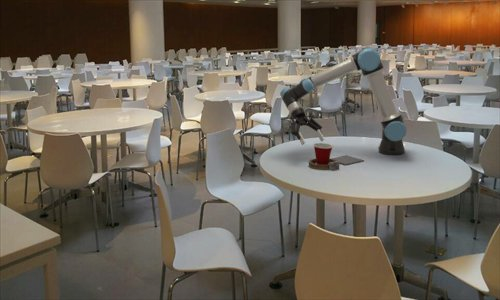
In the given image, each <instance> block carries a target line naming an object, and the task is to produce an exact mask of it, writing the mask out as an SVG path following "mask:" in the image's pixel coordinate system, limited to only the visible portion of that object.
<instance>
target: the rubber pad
mask: <svg viewBox="0 0 500 300" xmlns="http://www.w3.org/2000/svg"><path fill="white" fill-rule="evenodd" d="M330 159H334V160H337V161H338V162H339V165H343V166H350V165H354V164H359V163H363V162H365V159H362V158H358V157H354V156H351V155H347V154H345V155H341V156H336V157H331V158H330Z"/></svg>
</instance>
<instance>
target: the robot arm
mask: <svg viewBox="0 0 500 300" xmlns="http://www.w3.org/2000/svg"><path fill="white" fill-rule="evenodd" d="M383 70H384V65H383V62H382V59H381V55H380V53H379V51H378V50H376V49H375V48H373V47H364V48H362V49H361V50H359V51H358V52H356V53H354V54H352V55H350V58H348V59H346V60H342V61H341V62H340V63H337V64H335V65H332V66H330V67H328V68H326V69H324V70H321V71H320V72H317V73H316V74H315V73H314V74H313V75H311V76H309V77H307V78H303V79H302V80H300V81H299V83H298V84H297V85H295V86H294V87H293V88H291V87H289V86H288V87H285V88H283V89H282V90H281V91H280V93H279V94H280V96H281V100H282V101H283V103H284V104H285V106H286V109H287V110H288V112H289V115H290V116H291V119H290V120H289V122H290V128H291V136H293V135H294V136H295V137H296V138H297V140H298V141H299V143H300V144H301V146H304V145H305V144H306V141H305V138H304V137H303V135H302V133H301V132H300V128H301V127H302V126H306V127H309V128H311V129H312V130H313V131H316V132H315V134H316V135H317V137H318V139H319V140H320V143H323V142H324V141H325V137H324V135H323V132H322V131H321V130H322V128H323V126H322V125H320V123H318V122H317V121H316V120H315V119H314V118H313V117H312V116H311V115H309V116H306V112H305V111H304V108H303V106H302V105H301V103H300V102H299V100H301V99H302V98H303V97H305V96H307V95H308V94H309V93H311V92H312V91H314V90H315V89H316V88H319V87H321V86H324V85H325V84H328V83H330V82H332V81H335V80H337V79H339V78H341V77H343V76H346V75H348V74H350V73H352V72H355V71H357V72H358V71H361V73H362V76H363V77H365V78H366V79H367V82H368V83H369V86H370V90H371V93H372V94H373V97H374V100H375V103H376V106H377V108H378V111H379V113H380V116H381V119H380V123H381V124H380V125H381V126H382V128H381V140H380V143H379V146H378V153H380V154H382V155H386V156H387V155H388V156H390V155H391V156H397V155H403V154H405V152H406V149H405V145H404V141H403V139H404V138H405V137H406V135H407V130H408V129H407V126H406V124H405V122H404V115H403V114H401V112H398V111H397V108H396V106H395V103H394V100H393V98H392V95H391V92H390V89H389V87H388V85H387V82H386V79H385V76H384V74H383Z"/></svg>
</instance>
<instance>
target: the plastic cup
mask: <svg viewBox="0 0 500 300" xmlns="http://www.w3.org/2000/svg"><path fill="white" fill-rule="evenodd" d="M312 145H313V148H314V154H315V158H316V161H317V163H316V164H319V165H328V164H329V159H331V158H330V157H331V153H332V150H333V147H334V146H333V145H334V144H333V145H332V144H330V143H325V142H317V143H316V142H315V143H313V144H312Z"/></svg>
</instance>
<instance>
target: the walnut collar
mask: <svg viewBox="0 0 500 300" xmlns="http://www.w3.org/2000/svg"><path fill="white" fill-rule="evenodd" d="M308 168H310V169H313V170H319V171H326V170H327V171H332V172H333V171H337V170H340V164H339V162H338V161H337V160H334V159H331V158H330V159H329V163H328V165H319V164H317V161H316V157H315V158H311V159H309V160H308Z"/></svg>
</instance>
